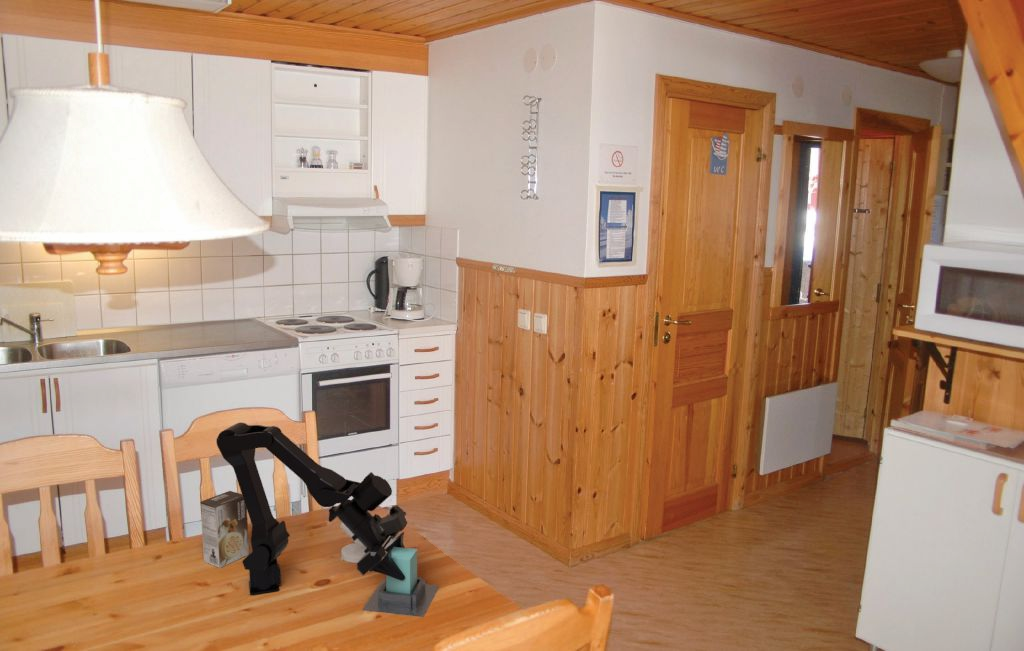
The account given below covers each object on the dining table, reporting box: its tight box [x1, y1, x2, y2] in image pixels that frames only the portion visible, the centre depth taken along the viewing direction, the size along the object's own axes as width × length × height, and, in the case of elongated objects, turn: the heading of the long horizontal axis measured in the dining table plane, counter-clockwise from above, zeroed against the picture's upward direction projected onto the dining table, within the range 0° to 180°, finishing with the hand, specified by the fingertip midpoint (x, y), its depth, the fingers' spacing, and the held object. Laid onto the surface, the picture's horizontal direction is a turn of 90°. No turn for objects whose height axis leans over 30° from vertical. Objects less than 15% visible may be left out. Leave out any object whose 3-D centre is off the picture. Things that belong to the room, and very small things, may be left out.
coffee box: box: [199, 490, 250, 569], centre depth 197 cm, size 9×6×16 cm
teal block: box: [385, 547, 418, 594], centre depth 178 cm, size 6×6×10 cm
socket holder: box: [361, 576, 441, 618], centre depth 178 cm, size 14×14×4 cm
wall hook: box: [339, 521, 366, 564], centre depth 199 cm, size 9×10×10 cm
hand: (407, 573), depth 177 cm, fingers closed on teal block, 5 cm apart
